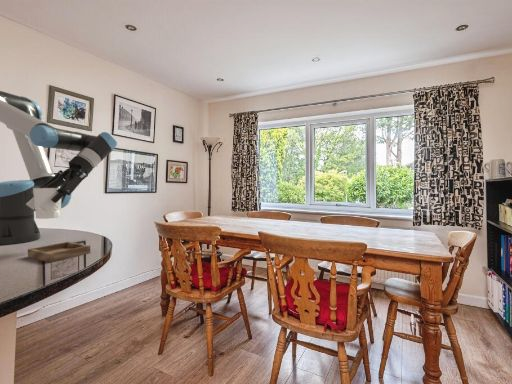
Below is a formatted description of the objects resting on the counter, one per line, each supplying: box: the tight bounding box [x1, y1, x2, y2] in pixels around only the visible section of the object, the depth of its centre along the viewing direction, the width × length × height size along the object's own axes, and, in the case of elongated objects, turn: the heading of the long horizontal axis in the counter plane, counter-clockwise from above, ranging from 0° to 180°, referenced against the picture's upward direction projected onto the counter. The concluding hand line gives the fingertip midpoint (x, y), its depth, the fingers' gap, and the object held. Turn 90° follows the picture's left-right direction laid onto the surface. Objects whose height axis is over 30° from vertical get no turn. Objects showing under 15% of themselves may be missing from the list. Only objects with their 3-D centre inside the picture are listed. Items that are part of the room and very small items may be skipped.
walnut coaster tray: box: [27, 241, 91, 264], centre depth 87 cm, size 12×12×2 cm
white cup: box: [33, 188, 62, 220], centre depth 94 cm, size 8×8×10 cm
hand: (36, 207), depth 91 cm, fingers closed on white cup, 8 cm apart
